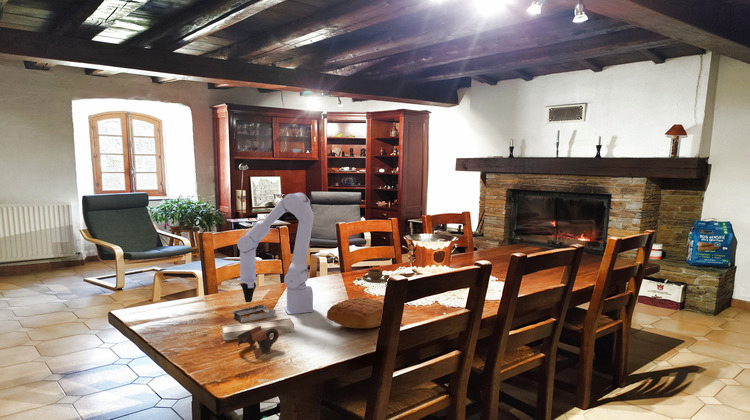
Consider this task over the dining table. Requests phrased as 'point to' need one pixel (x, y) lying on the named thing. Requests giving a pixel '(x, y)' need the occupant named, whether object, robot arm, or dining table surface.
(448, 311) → the dining table surface
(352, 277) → the dining table surface
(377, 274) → the place setting
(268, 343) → the brown looped piece
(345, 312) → the bread loaf
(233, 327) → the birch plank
